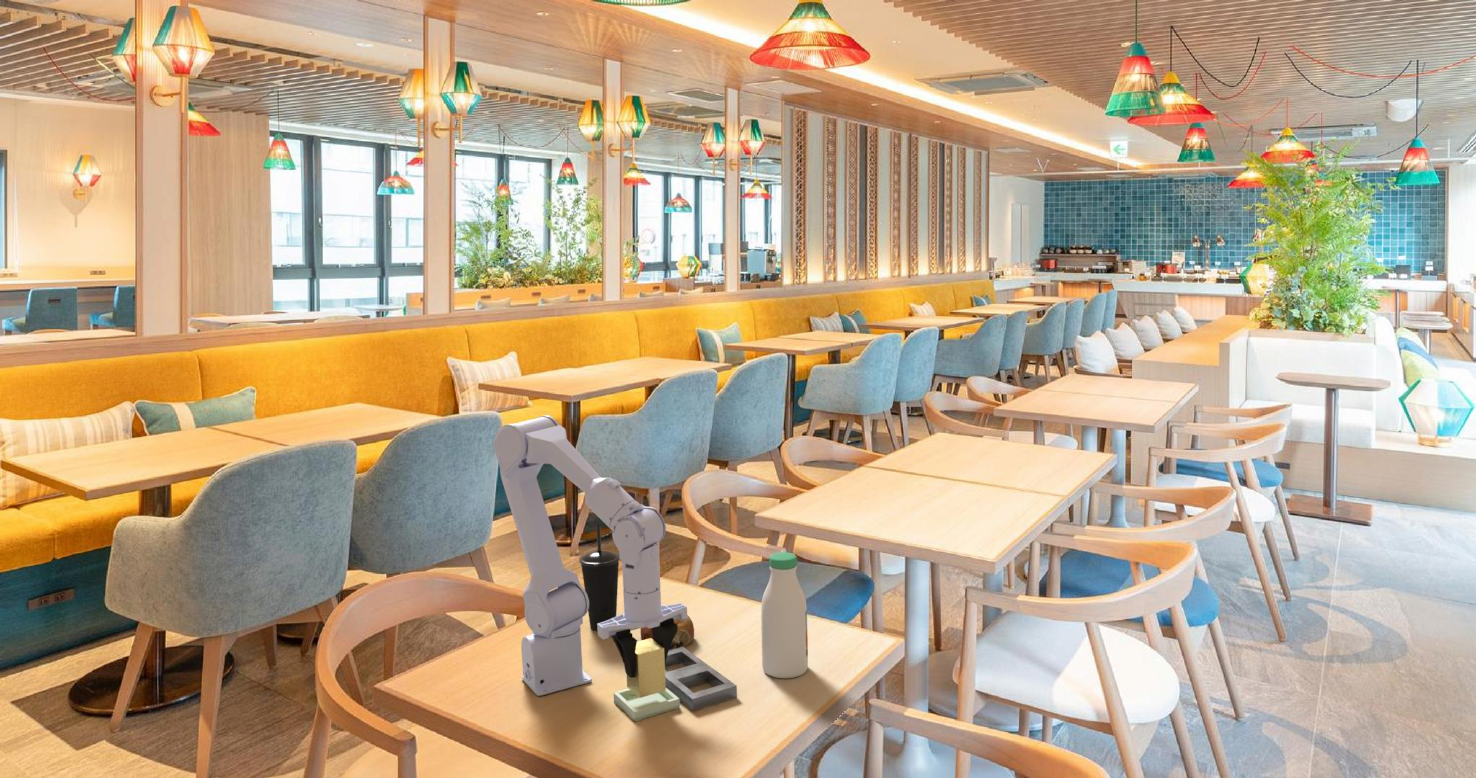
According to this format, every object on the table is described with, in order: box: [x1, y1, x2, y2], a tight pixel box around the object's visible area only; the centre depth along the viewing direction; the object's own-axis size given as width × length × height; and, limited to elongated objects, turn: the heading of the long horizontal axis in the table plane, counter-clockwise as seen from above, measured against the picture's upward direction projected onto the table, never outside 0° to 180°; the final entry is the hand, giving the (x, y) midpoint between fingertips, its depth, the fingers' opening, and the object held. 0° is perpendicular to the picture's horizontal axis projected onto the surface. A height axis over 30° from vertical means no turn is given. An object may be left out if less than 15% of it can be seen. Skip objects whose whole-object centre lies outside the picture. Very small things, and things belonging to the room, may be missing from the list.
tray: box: [613, 687, 681, 722], centre depth 149 cm, size 8×8×2 cm
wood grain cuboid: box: [626, 638, 666, 698], centre depth 148 cm, size 4×4×7 cm
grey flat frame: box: [665, 647, 738, 712], centre depth 156 cm, size 8×18×2 cm, turn 31°
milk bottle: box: [760, 551, 809, 679], centre depth 159 cm, size 8×8×20 cm
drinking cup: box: [578, 523, 621, 632], centre depth 179 cm, size 8×8×20 cm
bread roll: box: [640, 614, 695, 650], centre depth 173 cm, size 10×10×8 cm
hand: (645, 670), depth 148 cm, fingers closed on wood grain cuboid, 4 cm apart
